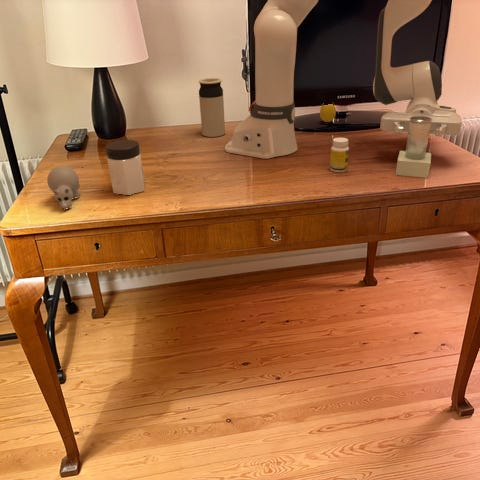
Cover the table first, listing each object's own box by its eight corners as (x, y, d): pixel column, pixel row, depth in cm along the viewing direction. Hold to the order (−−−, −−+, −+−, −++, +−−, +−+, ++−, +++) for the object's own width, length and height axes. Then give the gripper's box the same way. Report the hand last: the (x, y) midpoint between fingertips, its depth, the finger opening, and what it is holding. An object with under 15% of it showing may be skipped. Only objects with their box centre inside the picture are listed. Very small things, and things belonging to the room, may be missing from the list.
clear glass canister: (403, 159, 120) (409, 121, 115) (405, 152, 124) (410, 115, 119) (425, 160, 118) (431, 122, 113) (425, 154, 122) (432, 116, 117)
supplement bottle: (347, 173, 124) (349, 142, 120) (329, 172, 125) (331, 142, 120) (347, 166, 128) (349, 137, 124) (330, 166, 129) (331, 136, 125)
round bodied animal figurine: (52, 221, 111) (41, 197, 104) (54, 186, 118) (44, 161, 112) (83, 217, 112) (74, 192, 105) (83, 182, 119) (74, 158, 113)
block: (395, 174, 121) (397, 160, 119) (397, 164, 128) (399, 150, 126) (427, 177, 119) (430, 163, 117) (428, 167, 125) (431, 153, 123)
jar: (105, 193, 118) (96, 148, 112) (123, 181, 124) (116, 138, 118) (135, 197, 115) (128, 151, 109) (152, 185, 121) (146, 141, 115)
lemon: (317, 121, 168) (318, 99, 164) (332, 120, 168) (334, 98, 164) (321, 125, 163) (322, 103, 159) (337, 124, 163) (338, 102, 159)
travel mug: (228, 135, 157) (225, 80, 148) (206, 138, 155) (201, 83, 146) (220, 129, 164) (217, 76, 155) (199, 132, 161) (195, 79, 152)
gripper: (383, 104, 131) (378, 117, 120) (462, 108, 124) (463, 122, 113) (381, 126, 134) (375, 140, 123) (457, 131, 127) (458, 146, 116)
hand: (418, 131), depth 118 cm, fingers open, 8 cm apart
